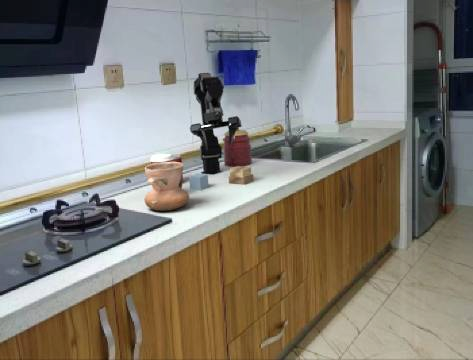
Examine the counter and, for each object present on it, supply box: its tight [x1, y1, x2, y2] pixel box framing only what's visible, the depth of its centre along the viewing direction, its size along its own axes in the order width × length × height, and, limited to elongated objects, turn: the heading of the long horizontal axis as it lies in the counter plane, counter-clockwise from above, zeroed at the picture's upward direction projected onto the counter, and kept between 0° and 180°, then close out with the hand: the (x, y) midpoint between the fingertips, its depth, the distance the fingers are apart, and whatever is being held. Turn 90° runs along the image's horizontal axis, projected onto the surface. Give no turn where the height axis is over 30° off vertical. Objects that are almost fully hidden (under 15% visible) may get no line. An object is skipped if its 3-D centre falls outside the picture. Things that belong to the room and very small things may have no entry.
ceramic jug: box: [144, 162, 190, 212], centre depth 161 cm, size 18×14×14 cm
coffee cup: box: [149, 153, 174, 164], centre depth 174 cm, size 8×8×15 cm
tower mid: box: [229, 166, 252, 178], centre depth 191 cm, size 6×6×3 cm
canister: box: [222, 127, 253, 167], centre depth 227 cm, size 13×13×18 cm
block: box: [188, 173, 209, 191], centre depth 186 cm, size 5×5×5 cm
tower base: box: [228, 173, 255, 186], centre depth 192 cm, size 7×7×3 cm
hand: (218, 147), depth 184 cm, fingers open, 9 cm apart
